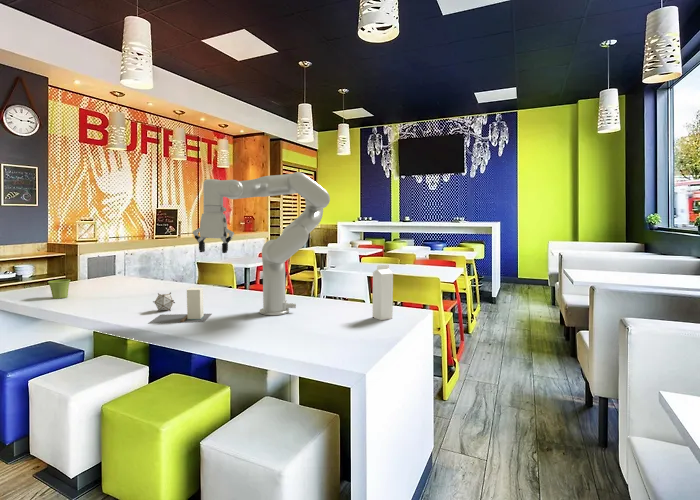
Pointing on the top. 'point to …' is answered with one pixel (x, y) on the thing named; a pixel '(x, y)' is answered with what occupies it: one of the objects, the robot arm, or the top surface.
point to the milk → (382, 293)
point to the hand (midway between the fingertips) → (213, 252)
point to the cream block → (195, 303)
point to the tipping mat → (177, 319)
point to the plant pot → (59, 288)
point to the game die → (164, 302)
